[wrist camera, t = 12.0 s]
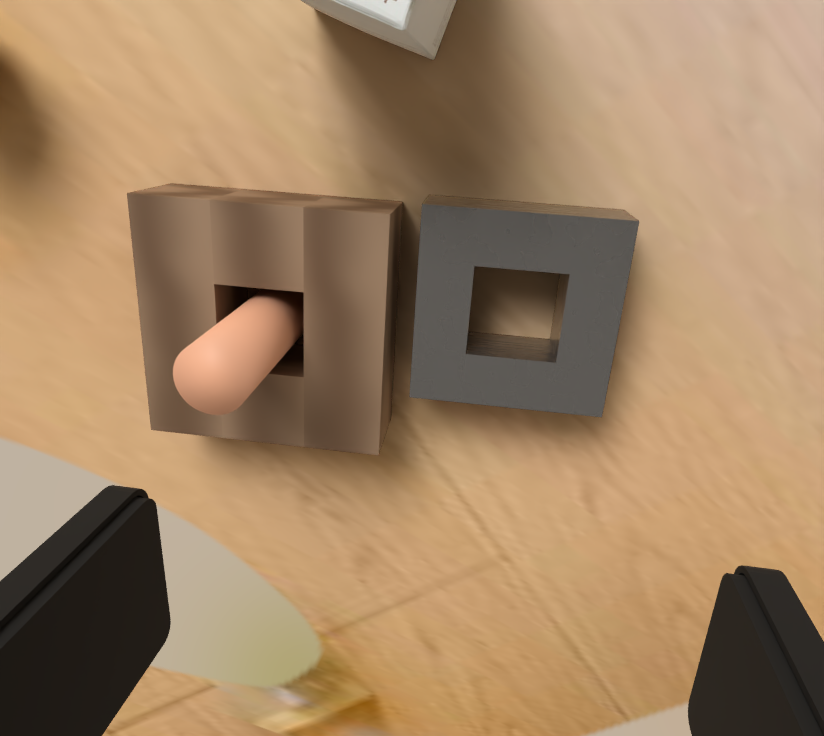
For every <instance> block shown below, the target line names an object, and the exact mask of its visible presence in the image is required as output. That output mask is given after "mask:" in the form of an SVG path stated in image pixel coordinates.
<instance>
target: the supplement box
mask: <svg viewBox="0 0 824 736" xmlns="http://www.w3.org/2000/svg"><path fill="white" fill-rule="evenodd" d="M301 1H303V2H304V3H306V4H307V5H309V6H311V7H312V8H314V9H316V10H318V11H320V12H322V13H324V14H326V15H328V16H330V17H333V18H335V19H337V20H339V21H341V22H343V23H345V24H348V25H350V26H352V27H354V28H356V29H359V30H361V31H363V32H365V33H368V34H370V35H372V36H375V37H377V38H380V39H382V40H385V41H387V42H389V43H392V44H394V45H397V46H399V47H402V48H404V49H407V50H409V51H412V52H414V53H417V54H419V55H422V56H424V57H427V58H429V59H431V60H434V59H435V56H436V54H437V51H438V48H439V46H440V43H441V40H442V38H443V35H444V32H445V30H446V27H447V24H448V22H449V19H450V16H451V14H452V11H453V9H454V6H455V3H456V1H457V0H301Z"/></svg>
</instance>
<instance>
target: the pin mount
mask: <svg viewBox="0 0 824 736" xmlns="http://www.w3.org/2000/svg"><path fill="white" fill-rule="evenodd" d="M638 225H639V220H637V219H636V218H635V217H633V216H632V215H630V214H629V213H628V212H626V211H625V210H619V209H606V208H593V207H580V206H567V205H555V204H542V203H529V202H516V201H503V200H490V199H477V198H464V197H451V196H438V195H429V196H428V197H427V198H426V199H425V201H424V202H423V203H422V212H421V227H420V242H419V258H418V273H417V288H416V304H415V319H414V334H413V350H412V365H411V380H410V396H409V397H413V398H422V399H432V400H441V401H451V402H461V403H470V404H480V405H489V406H499V407H508V408H518V409H528V410H537V411H547V412H556V413H566V414H576V415H585V416H595V417H602V414H603V408H604V403H605V398H606V393H607V387H608V382H609V377H610V372H611V367H612V361H613V356H614V351H615V346H616V340H617V335H618V330H619V325H620V319H621V314H622V309H623V304H624V298H625V293H626V288H627V283H628V277H629V272H630V267H631V262H632V256H633V251H634V246H635V241H636V236H637V230H638ZM475 266H479V267H491V268H502V269H514V270H526V271H537V272H549V273H560V276H559V283H558V290H557V296H556V303H555V310H554V316H553V323H552V330H551V336H550V339H541V338H531V337H520V336H510V335H499V334H489V333H478V332H468V329H469V319H470V309H471V298H472V288H473V278H474V268H475Z"/></svg>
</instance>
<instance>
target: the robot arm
mask: <svg viewBox="0 0 824 736" xmlns="http://www.w3.org/2000/svg"><path fill="white" fill-rule="evenodd" d="M169 630H170V612H169V604H168V597H167V588H166V580H165V572H164V564H163V556H162V548H161V540H160V531H159V523H158V515H157V507H156V503H155V502H154V500H152V499H149V498H148V495H147V493H146V491H144V490H142V489H137V488H130V487H122V486H114V485H112V486H108V487H107V488H105V489H104V490H102V491H101V492H100V493H99V494H98V495H97V496H96V497H94V498H93V499H92V500H91V501H90V502H89V503H88V504H87V505H85V506H84V507H83V508H82V509H81V510H80V511H79V512H78V513H76V514H75V515H74V516H73V517H72V518H71V519H70V520H69V521H67V522H66V523H65V524H64V525H63V526H62V527H61V528H60V529H59V530H57V531H56V532H55V533H54V534H53V535H52V536H51V537H50V538H48V539H47V540H46V541H45V542H44V543H43V544H42V545H41V546H39V547H38V548H37V549H36V550H35V551H34V552H33V553H32V554H30V555H29V556H28V557H27V558H26V559H25V560H24V561H23V562H21V563H20V564H19V565H18V566H17V567H16V568H15V569H14V570H13V571H11V572H10V573H9V574H8V575H7V576H6V577H5V578H3V579H2V580H1V581H0V736H102V735H103V733H104V732H105V730H106V729H107V727H108V726H109V724H110V723H111V721H112V720H113V718H114V717H115V715H116V714H117V713H118V711H119V710H120V708H121V707H122V705H123V704H124V702H125V701H126V699H127V698H128V696H129V695H130V693H131V692H132V690H133V689H134V687H135V686H136V685H137V683H138V682H139V680H140V679H141V677H142V676H143V674H144V673H145V671H146V670H147V668H148V667H149V665H150V664H151V662H152V661H153V659H154V658H155V656H156V655H157V653H158V652H159V651H160V649H161V647H162V646H163V645H164V643H165V641H166V639H167V637H168V634H169ZM688 718H689V725H690V730H691V734H692V736H824V641H823V640H822V638H821V636H820V635H819V633H818V631H817V629H816V628H815V626H814V624H813V622H812V621H811V619H810V617H809V616H808V614H807V612H806V610H805V609H804V607H803V605H802V603H801V602H800V600H799V598H798V597H797V595H796V593H795V591H794V590H793V588H792V586H791V584H790V583H789V581H788V579H787V577H786V576H785V575H784V573H783V572H781V571H779V570H774V569H766V568H758V567H750V566H742V565H741V566H738V568H737V569H736V570H735V573H734V574H729V573H726V574H724V576H723V577H722V580H721V583H720V587H719V591H718V595H717V598H716V602H715V606H714V610H713V613H712V617H711V621H710V624H709V628H708V632H707V636H706V639H705V643H704V647H703V651H702V654H701V658H700V662H699V666H698V669H697V673H696V677H695V680H694V684H693V688H692V692H691V695H690V699H689V705H688Z"/></svg>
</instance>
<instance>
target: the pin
mask: <svg viewBox="0 0 824 736" xmlns="http://www.w3.org/2000/svg"><path fill="white" fill-rule="evenodd" d="M303 333H304V292H295V291H284V290H273V289H262V290H261V291H259V292H258V293H257V294H255V295H254V296H253V297H251V298H250V299H249V300H248V301H246V302H245V303H244V304H242V305H241V306H240V307H238V308H237V309H236V310H234V311H233V312H232V313H231V314H229V315H228V316H227V317H225V318H224V319H223V320H221V321H220V322H219V323H217V324H216V325H215V326H213V327H212V328H211V329H210V330H208V331H207V332H206V333H204V334H203V335H202V336H200V337H199V338H198V339H196V340H195V341H194V342H193V343H191V344H190V345H189V346H187V347H186V348H185V349H184V350H182V351H181V352H180V353H179V355H178V356H177V358H176V360H175V363H174V366H173V379H174V383H175V386H176V388H177V390H178V392H179V394H180V395H181V397H182V398H183V399H184V400H185V401H186V402H187V403H188V404H189V405H190V406H192V407H193V408H195V409H197V410H198V411H201V412H203V413H206V414H211V415H223V414H228V413H230V412H233V411H235V410H236V409H237V408H239V407H240V406H241V405H242V404H243V403H244V401H245V400H246V399H247V398H248V397H249V396H250V394H251V393H252V392H253V391H254V390H255V389H256V387H257V386H258V385H259V384H260V383H261V382H262V380H263V379H264V378H265V377H266V376H267V375H268V374H269V372H270V371H271V370H272V369H273V368H274V367H275V365H276V364H277V363H278V362H279V361H280V360H281V358H282V357H283V356H284V355H285V354H286V353H287V351H288V350H289V349H290V348H291V347H292V346H293V345H294V343H295V342H296V341H297V340H298V339H299V338H300V336H301V335H302V334H303Z"/></svg>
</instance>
